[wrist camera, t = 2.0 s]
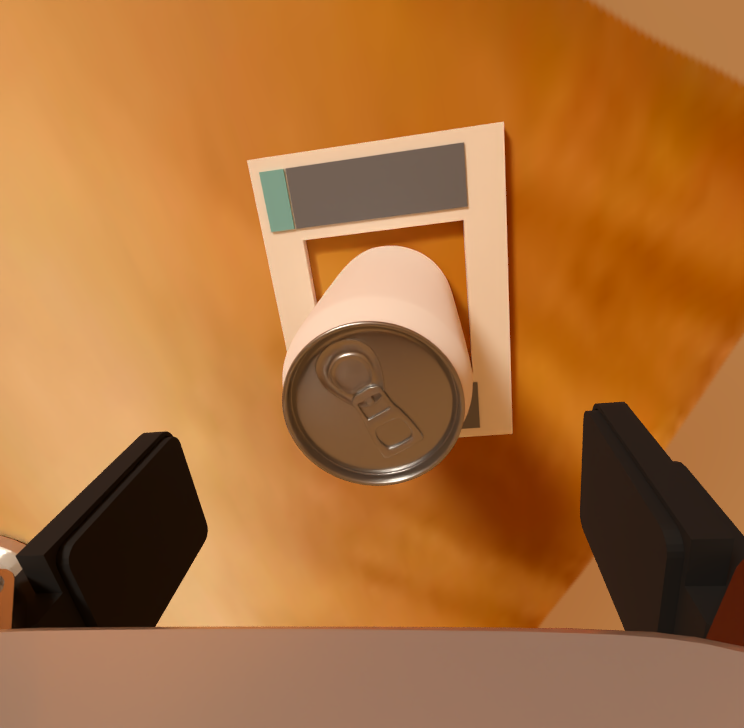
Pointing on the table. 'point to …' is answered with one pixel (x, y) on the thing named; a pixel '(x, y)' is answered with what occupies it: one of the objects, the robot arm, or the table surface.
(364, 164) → the label board
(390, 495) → the table surface
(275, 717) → the robot arm
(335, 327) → the can
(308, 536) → the table surface
